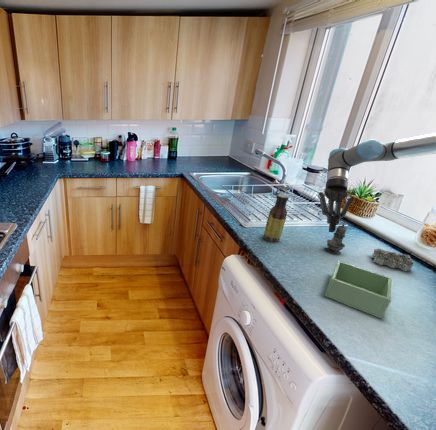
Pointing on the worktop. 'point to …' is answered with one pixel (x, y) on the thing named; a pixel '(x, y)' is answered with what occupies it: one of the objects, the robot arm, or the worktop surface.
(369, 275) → the box
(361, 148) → the robot arm
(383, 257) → the egg carton
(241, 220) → the worktop surface
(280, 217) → the sauce bottle
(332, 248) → the dark stone statuette
